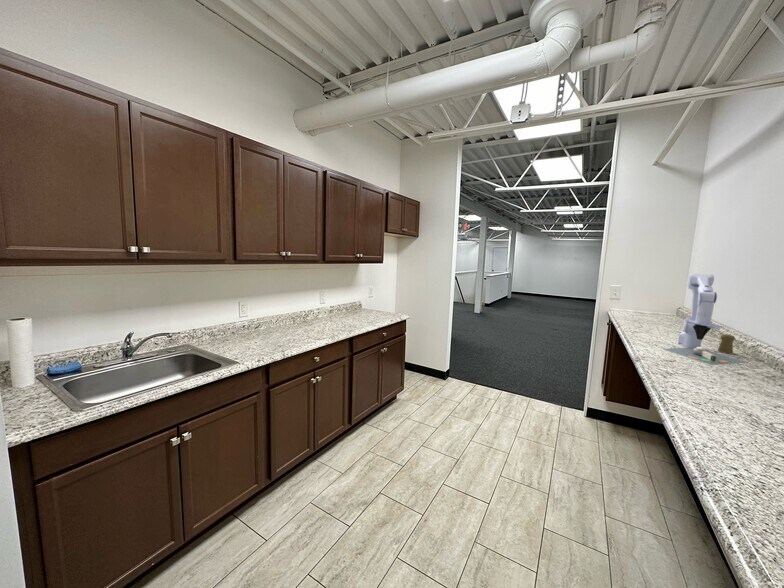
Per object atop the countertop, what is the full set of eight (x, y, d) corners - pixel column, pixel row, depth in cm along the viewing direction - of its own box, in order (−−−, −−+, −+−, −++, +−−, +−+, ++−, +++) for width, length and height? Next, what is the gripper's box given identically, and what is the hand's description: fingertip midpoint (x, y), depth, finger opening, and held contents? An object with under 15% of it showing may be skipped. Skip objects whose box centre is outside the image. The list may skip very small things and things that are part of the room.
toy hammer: (690, 351, 168) (691, 345, 168) (703, 353, 167) (704, 346, 166) (706, 360, 156) (708, 353, 155) (720, 361, 154) (722, 355, 153)
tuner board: (661, 350, 174) (661, 348, 174) (694, 349, 178) (694, 346, 178) (711, 367, 151) (711, 364, 150) (747, 364, 154) (748, 362, 154)
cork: (736, 356, 167) (739, 336, 165) (722, 355, 168) (726, 335, 166) (726, 352, 173) (730, 333, 171) (713, 351, 174) (717, 332, 172)
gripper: (682, 311, 168) (678, 335, 170) (714, 317, 153) (709, 343, 156) (693, 311, 169) (689, 335, 171) (725, 317, 155) (720, 343, 157)
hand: (699, 339), depth 163 cm, fingers closed
